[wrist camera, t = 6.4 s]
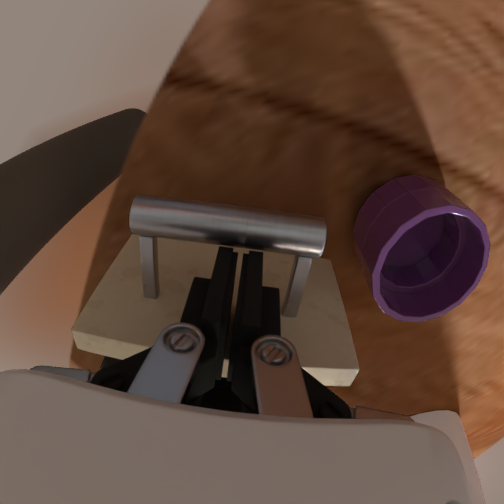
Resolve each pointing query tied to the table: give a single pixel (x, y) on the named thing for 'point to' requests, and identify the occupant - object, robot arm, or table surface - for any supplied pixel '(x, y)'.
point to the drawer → (201, 265)
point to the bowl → (419, 248)
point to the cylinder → (456, 445)
